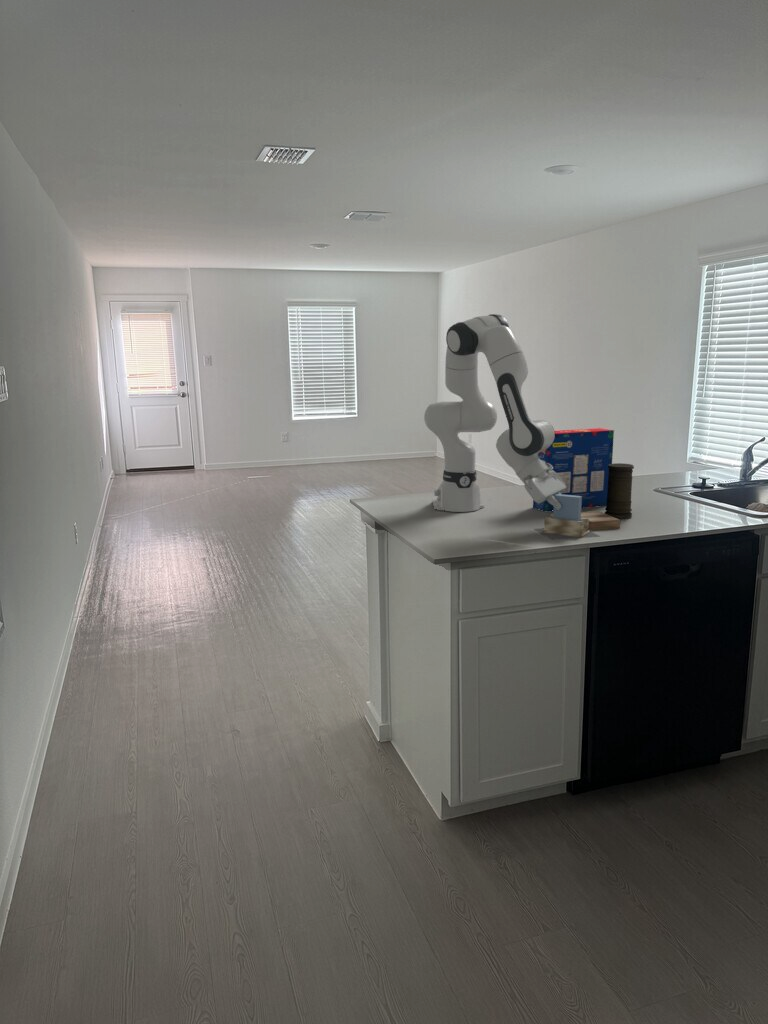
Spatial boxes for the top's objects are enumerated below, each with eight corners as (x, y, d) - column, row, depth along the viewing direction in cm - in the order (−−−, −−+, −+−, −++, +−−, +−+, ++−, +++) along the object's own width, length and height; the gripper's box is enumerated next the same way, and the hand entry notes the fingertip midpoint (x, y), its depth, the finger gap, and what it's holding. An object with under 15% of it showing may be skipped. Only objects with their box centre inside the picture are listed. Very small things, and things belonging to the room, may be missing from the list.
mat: (533, 529, 227) (533, 528, 227) (579, 526, 230) (579, 525, 230) (551, 540, 213) (551, 539, 213) (600, 537, 216) (600, 536, 216)
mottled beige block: (542, 532, 222) (542, 517, 221) (550, 527, 228) (550, 513, 227) (582, 537, 215) (583, 522, 214) (590, 532, 221) (590, 518, 220)
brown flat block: (570, 521, 238) (571, 512, 237) (598, 519, 240) (598, 510, 239) (590, 530, 224) (591, 521, 224) (619, 529, 226) (620, 519, 225)
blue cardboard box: (595, 501, 269) (599, 428, 263) (609, 505, 262) (613, 430, 256) (532, 507, 260) (535, 431, 254) (545, 512, 252) (548, 434, 246)
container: (636, 516, 244) (639, 464, 240) (624, 520, 238) (627, 467, 234) (611, 512, 250) (614, 462, 247) (599, 516, 244) (602, 465, 240)
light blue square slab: (552, 523, 222) (553, 495, 220) (555, 521, 224) (556, 493, 222) (577, 526, 217) (579, 497, 215) (580, 524, 219) (581, 496, 218)
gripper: (528, 471, 213) (558, 506, 210) (552, 463, 230) (580, 495, 227) (514, 484, 217) (543, 519, 213) (538, 475, 233) (566, 507, 230)
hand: (562, 507), depth 220 cm, fingers closed on light blue square slab, 2 cm apart
